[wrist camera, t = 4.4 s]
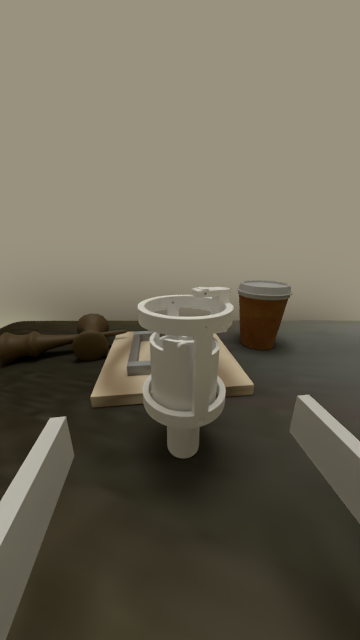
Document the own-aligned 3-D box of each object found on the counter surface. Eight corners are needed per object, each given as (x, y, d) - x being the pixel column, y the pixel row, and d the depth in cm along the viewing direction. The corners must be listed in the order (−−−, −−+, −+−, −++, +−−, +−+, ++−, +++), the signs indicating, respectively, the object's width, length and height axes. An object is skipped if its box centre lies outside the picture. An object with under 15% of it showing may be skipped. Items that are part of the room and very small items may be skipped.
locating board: (211, 334, 46) (212, 322, 45) (252, 394, 27) (255, 374, 26) (118, 339, 43) (116, 325, 42) (92, 407, 24) (88, 386, 23)
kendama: (18, 351, 39) (126, 335, 45) (-5, 381, 31) (132, 356, 37) (8, 321, 37) (123, 309, 43) (-20, 345, 28) (128, 325, 35)
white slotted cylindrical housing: (235, 465, 18) (257, 295, 13) (156, 495, 16) (147, 303, 11) (200, 409, 24) (206, 280, 19) (140, 425, 22) (130, 284, 17)
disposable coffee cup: (222, 341, 42) (227, 282, 39) (248, 330, 48) (254, 278, 44) (267, 359, 36) (278, 290, 32) (290, 344, 41) (302, 284, 38)
